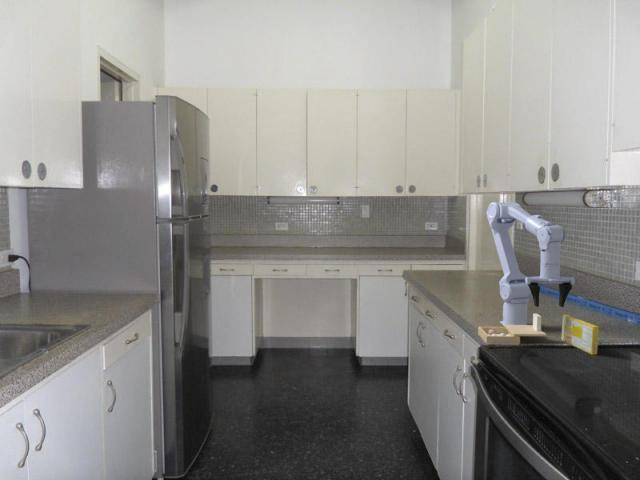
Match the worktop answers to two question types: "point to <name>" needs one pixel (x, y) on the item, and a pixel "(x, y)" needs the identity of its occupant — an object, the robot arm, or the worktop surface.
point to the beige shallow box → (498, 336)
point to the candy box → (580, 334)
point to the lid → (527, 328)
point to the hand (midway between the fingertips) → (548, 306)
